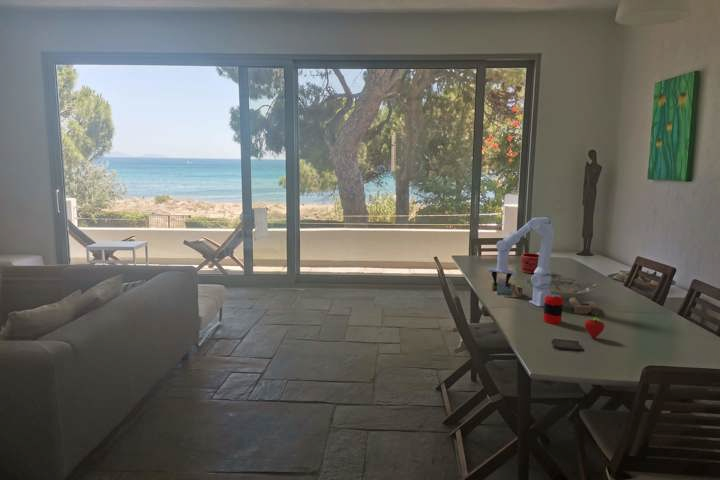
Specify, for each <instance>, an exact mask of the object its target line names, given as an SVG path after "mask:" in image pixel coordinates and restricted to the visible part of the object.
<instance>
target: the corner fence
mask: <svg viewBox="0 0 720 480" xmlns="http://www.w3.org/2000/svg"><path fill="white" fill-rule="evenodd" d="M497 284H498V281H497V283H496V286H495V284H494V281H493V282H492V283H491V291H492V292H497ZM508 284H513V294H515V295H517V296H518V297H522V296H523V287H522V286H520V285H518V284H515V283H513V282H512V281H508Z"/></svg>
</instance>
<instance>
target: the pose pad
mask: <svg viewBox="0 0 720 480" xmlns="http://www.w3.org/2000/svg"><path fill="white" fill-rule="evenodd" d="M494 293H495V294H497V291H494ZM497 295H499V296H500V297H503V298H508V297H509V298H515V297H517V298H518V297H519V296H518V295H516V294H515V293H513V294H512V296H509V295H500V294H497Z"/></svg>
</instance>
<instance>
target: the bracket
mask: <svg viewBox="0 0 720 480" xmlns="http://www.w3.org/2000/svg"><path fill="white" fill-rule="evenodd" d="M497 280H498V281H497V282H498V284H497V291H496V292H497V293H496V295H498V294H500V295H509V296H512V294H514V293H513V284H506V278H500V277H499V278H498V279H497ZM500 295H499V296H500Z"/></svg>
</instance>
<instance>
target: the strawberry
mask: <svg viewBox="0 0 720 480" xmlns="http://www.w3.org/2000/svg"><path fill="white" fill-rule="evenodd" d="M597 316H598V315H595V317H592V318H591V317H588V320H586V321H585V322H584V329H585V330H586V331H587V334H588V335H589V336H590V337H591V338H592V339H595V338H597V337H598V336H599V335H601V334H602V332H603V331H604V330H605V323H604V322H603V321H602V320H601V319H600V318H598V317H597Z"/></svg>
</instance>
